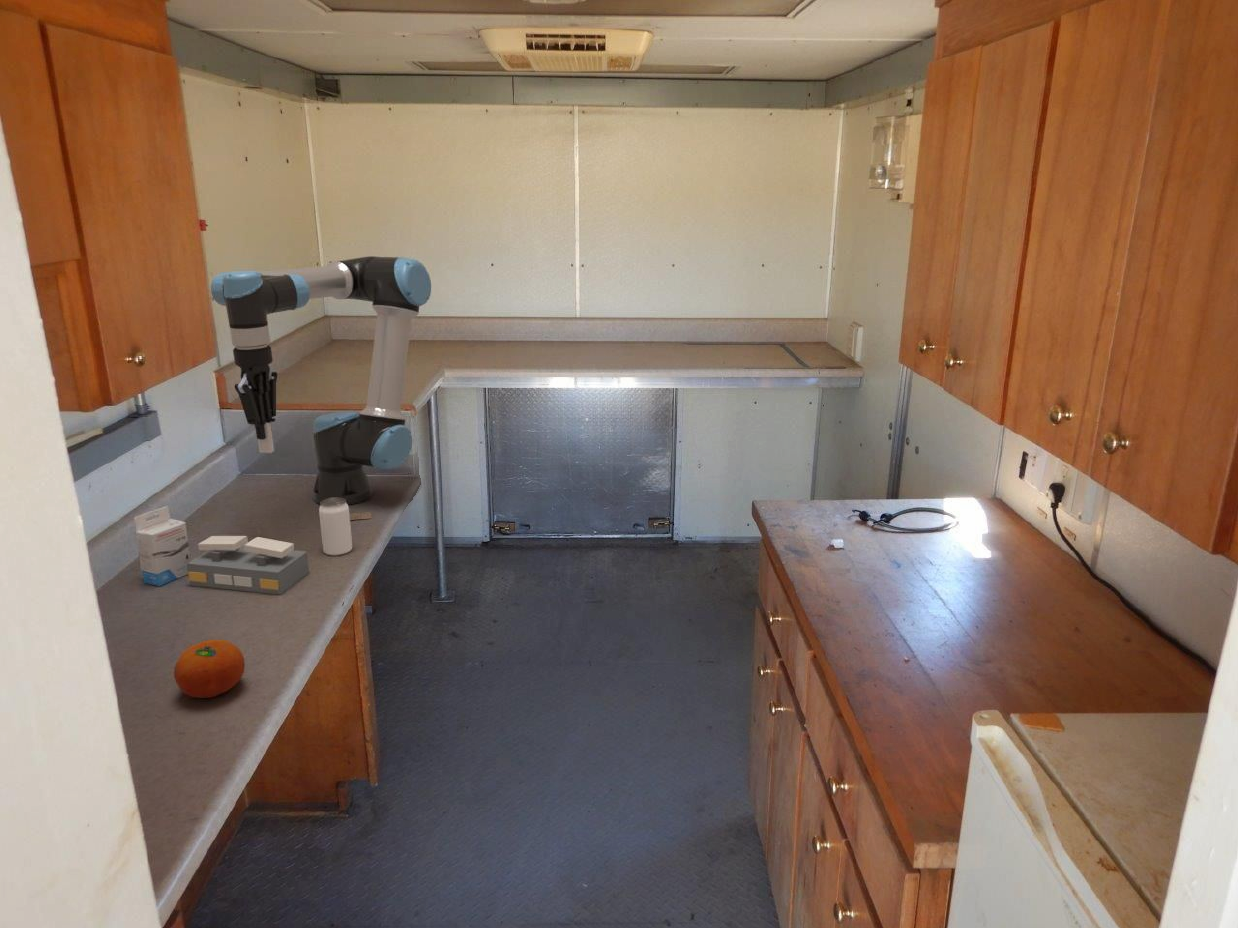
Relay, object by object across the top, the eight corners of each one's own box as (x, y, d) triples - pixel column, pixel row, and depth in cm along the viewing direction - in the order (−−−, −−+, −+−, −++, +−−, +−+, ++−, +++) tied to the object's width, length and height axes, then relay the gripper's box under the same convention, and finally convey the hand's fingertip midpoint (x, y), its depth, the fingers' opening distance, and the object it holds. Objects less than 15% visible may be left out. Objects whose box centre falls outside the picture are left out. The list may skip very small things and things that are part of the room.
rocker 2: (257, 547, 186) (257, 536, 186) (294, 553, 185) (293, 543, 184) (244, 555, 182) (244, 544, 181) (281, 562, 181) (281, 552, 180)
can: (344, 557, 198) (339, 507, 194) (317, 554, 199) (312, 505, 195) (357, 546, 204) (353, 498, 200) (332, 544, 205) (327, 496, 201)
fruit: (196, 673, 150) (189, 631, 148) (256, 672, 150) (251, 631, 148) (166, 708, 140) (159, 664, 138) (231, 708, 140) (225, 664, 138)
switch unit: (222, 564, 193) (218, 535, 191) (309, 572, 190) (306, 543, 187) (189, 585, 183) (184, 555, 181) (280, 595, 179) (276, 564, 177)
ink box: (158, 587, 182) (147, 521, 178) (142, 582, 184) (131, 517, 180) (193, 572, 190) (184, 508, 185) (178, 567, 192) (168, 504, 187)
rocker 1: (214, 546, 189) (212, 535, 188) (249, 546, 187) (246, 535, 186) (200, 554, 184) (198, 544, 184) (236, 554, 182) (233, 544, 182)
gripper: (252, 339, 192) (267, 442, 199) (217, 351, 179) (234, 460, 187) (284, 340, 190) (297, 443, 198) (250, 352, 178) (266, 461, 186)
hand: (266, 451), depth 193 cm, fingers closed
